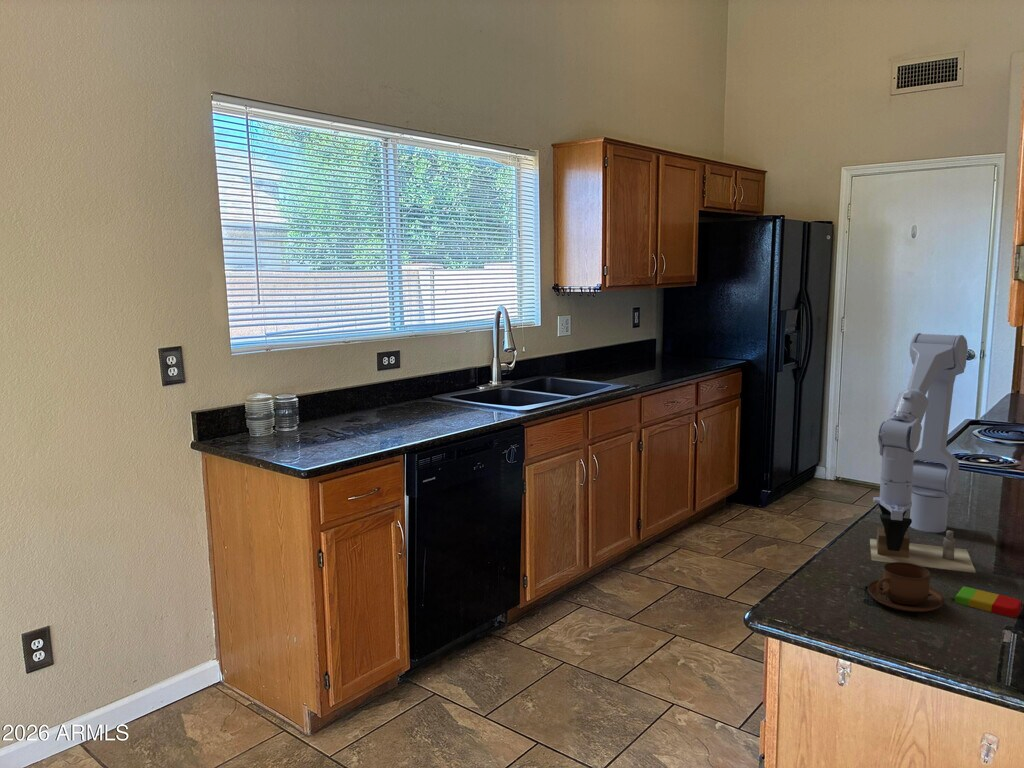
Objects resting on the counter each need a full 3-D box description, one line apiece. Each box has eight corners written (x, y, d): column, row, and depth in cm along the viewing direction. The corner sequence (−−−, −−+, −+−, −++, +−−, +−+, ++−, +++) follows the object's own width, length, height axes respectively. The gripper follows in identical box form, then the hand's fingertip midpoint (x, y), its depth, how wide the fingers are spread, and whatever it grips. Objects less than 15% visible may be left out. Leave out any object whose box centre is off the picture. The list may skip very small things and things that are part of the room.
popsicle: (1016, 620, 128) (1017, 610, 128) (918, 596, 138) (919, 586, 138) (1022, 609, 132) (1023, 599, 132) (927, 586, 142) (928, 577, 142)
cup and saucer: (922, 625, 127) (924, 590, 126) (854, 600, 136) (855, 567, 136) (956, 605, 134) (958, 572, 133) (888, 583, 143) (890, 552, 142)
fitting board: (869, 543, 164) (871, 513, 163) (966, 554, 156) (968, 523, 156) (871, 564, 152) (872, 533, 151) (975, 577, 145) (978, 545, 144)
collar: (876, 545, 160) (877, 526, 159) (906, 548, 157) (907, 529, 157) (877, 554, 155) (878, 535, 154) (908, 558, 152) (909, 538, 152)
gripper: (873, 468, 162) (869, 530, 164) (875, 486, 149) (871, 553, 151) (910, 471, 159) (906, 534, 161) (916, 490, 146) (912, 558, 148)
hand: (892, 543), depth 156 cm, fingers open, 7 cm apart
